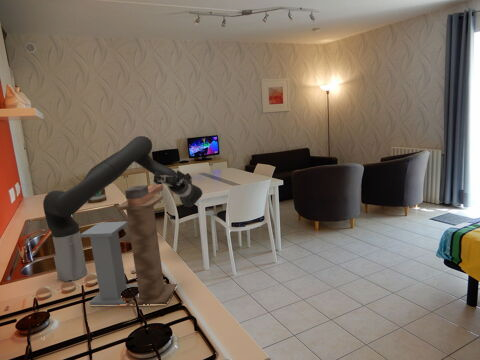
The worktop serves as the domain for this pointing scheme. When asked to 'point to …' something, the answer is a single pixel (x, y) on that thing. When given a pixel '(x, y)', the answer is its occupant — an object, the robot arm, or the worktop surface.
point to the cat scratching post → (147, 253)
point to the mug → (98, 197)
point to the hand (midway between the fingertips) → (166, 173)
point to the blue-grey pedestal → (108, 262)
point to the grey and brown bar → (142, 193)
